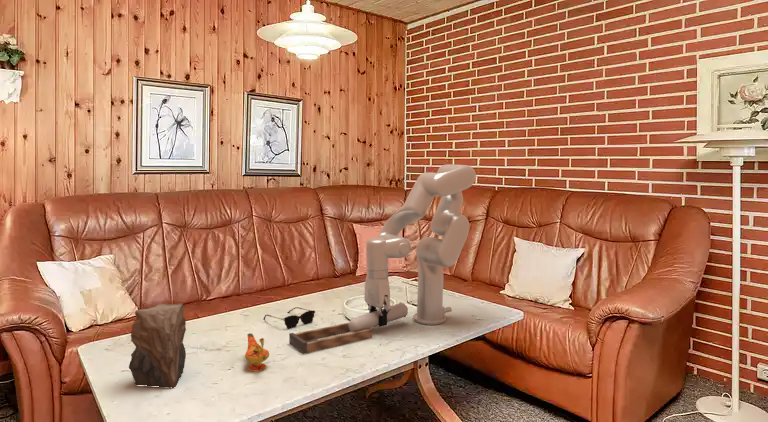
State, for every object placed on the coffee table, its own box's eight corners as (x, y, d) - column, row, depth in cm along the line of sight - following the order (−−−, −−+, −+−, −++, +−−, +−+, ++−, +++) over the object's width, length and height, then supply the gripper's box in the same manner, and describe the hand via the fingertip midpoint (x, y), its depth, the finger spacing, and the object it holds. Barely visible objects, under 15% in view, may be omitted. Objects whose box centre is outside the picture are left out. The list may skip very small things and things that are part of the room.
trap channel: (356, 329, 181) (356, 319, 181) (372, 338, 173) (372, 328, 172) (289, 343, 166) (289, 333, 166) (303, 354, 158) (303, 343, 157)
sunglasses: (284, 331, 178) (283, 317, 178) (260, 323, 190) (259, 310, 189) (315, 322, 188) (315, 309, 188) (290, 315, 199) (290, 302, 199)
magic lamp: (260, 352, 159) (260, 318, 157) (275, 375, 143) (275, 337, 141) (238, 355, 156) (237, 321, 154) (250, 379, 140) (250, 340, 138)
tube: (356, 324, 169) (409, 307, 185) (346, 316, 172) (399, 299, 189) (353, 338, 170) (406, 319, 187) (344, 329, 174) (396, 311, 191)
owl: (127, 386, 134) (124, 313, 132) (152, 367, 147) (150, 299, 144) (174, 389, 133) (171, 315, 131) (195, 369, 146) (193, 301, 144)
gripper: (355, 270, 182) (356, 319, 185) (382, 280, 168) (383, 332, 171) (372, 267, 187) (373, 314, 189) (400, 276, 173) (401, 327, 175)
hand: (378, 322), depth 180 cm, fingers closed on tube, 5 cm apart
